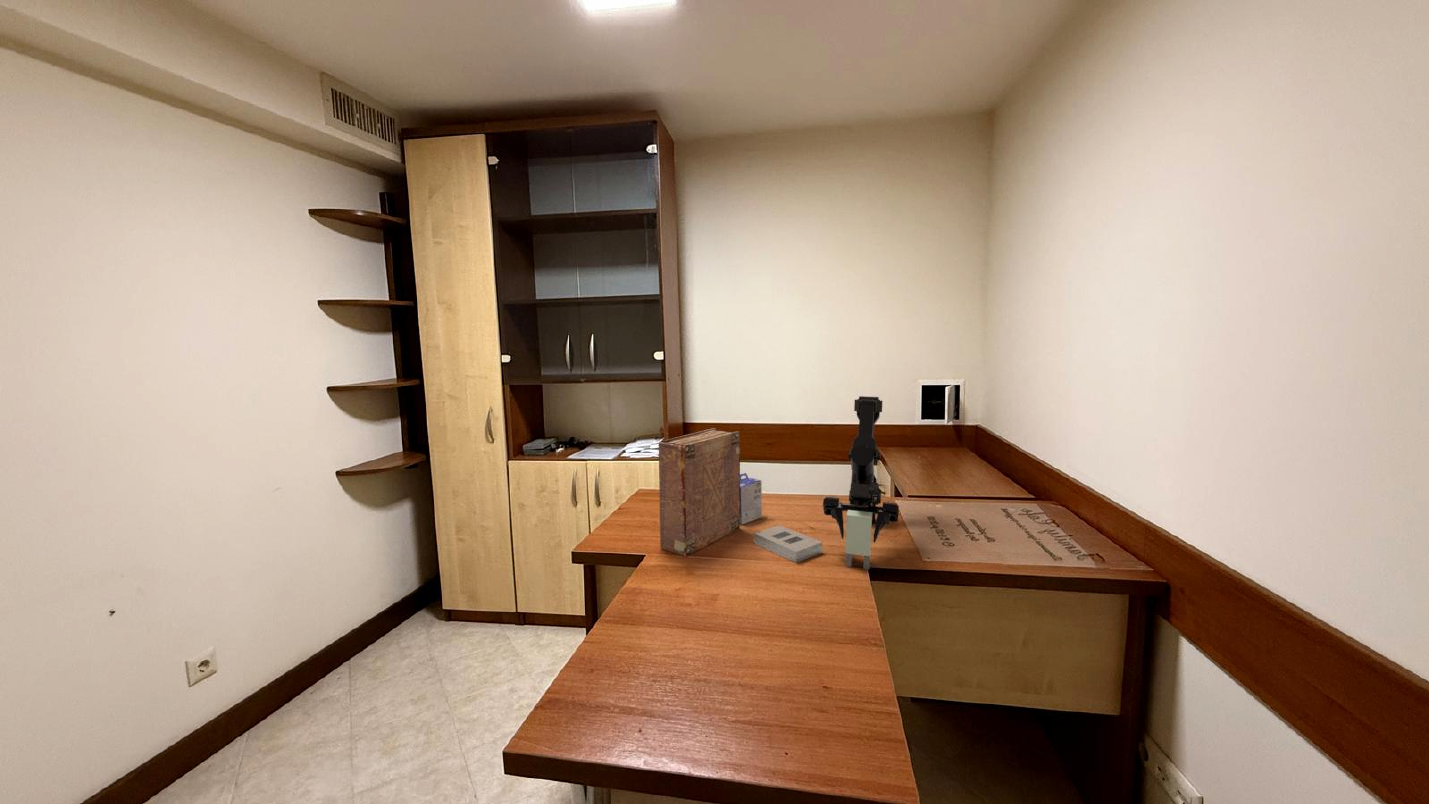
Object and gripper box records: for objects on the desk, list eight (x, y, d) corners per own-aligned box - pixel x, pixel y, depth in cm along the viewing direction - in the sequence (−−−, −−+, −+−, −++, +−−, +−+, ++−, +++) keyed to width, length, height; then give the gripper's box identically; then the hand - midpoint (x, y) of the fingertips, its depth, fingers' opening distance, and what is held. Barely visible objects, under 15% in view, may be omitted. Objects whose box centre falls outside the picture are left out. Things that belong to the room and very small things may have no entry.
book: (715, 522, 165) (715, 427, 161) (740, 528, 160) (740, 431, 156) (660, 549, 145) (658, 441, 141) (685, 557, 140) (684, 446, 136)
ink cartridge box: (749, 513, 173) (750, 470, 171) (762, 517, 169) (763, 473, 167) (728, 520, 166) (728, 476, 164) (741, 525, 162) (741, 479, 160)
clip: (846, 559, 138) (847, 509, 136) (870, 562, 136) (872, 512, 134) (845, 566, 134) (846, 515, 132) (869, 569, 132) (871, 517, 130)
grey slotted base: (779, 534, 155) (779, 525, 154) (821, 552, 142) (822, 542, 142) (754, 543, 149) (754, 533, 148) (796, 563, 136) (796, 551, 136)
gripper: (824, 466, 138) (818, 521, 130) (900, 472, 133) (899, 530, 124) (827, 487, 147) (821, 540, 138) (898, 493, 141) (897, 549, 132)
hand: (858, 540), depth 133 cm, fingers open, 7 cm apart
